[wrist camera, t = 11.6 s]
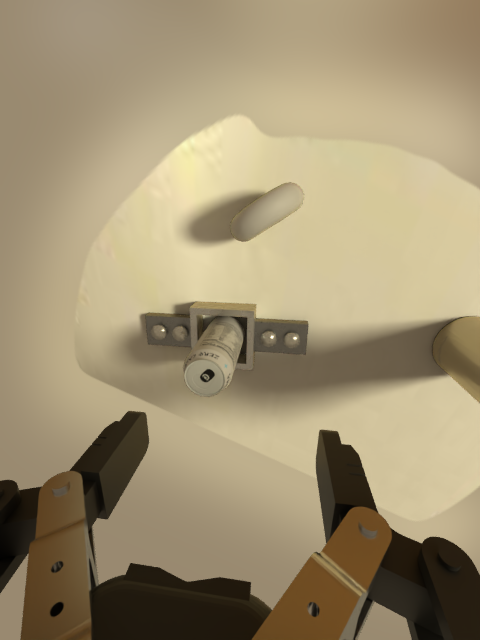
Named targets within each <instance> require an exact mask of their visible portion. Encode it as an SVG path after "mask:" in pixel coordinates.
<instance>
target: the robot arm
mask: <svg viewBox="0 0 480 640" xmlns="http://www.w3.org/2000/svg"><path fill="white" fill-rule="evenodd" d="M433 356H434V359H435V361H436V362H437V364H438V365H439V366H440V367H441V368H442V369H443V370H444V371H445V372H447V373H448V374H449V375H450V376H451V377H452V378H453V379H454V380H455V381H456V382H457V383H458V384H459V385H460V386H461V387H463V388H464V389H465V390H466V391H467V392H468V393H469V394H470V395H471V396H472V397H473V398H474V399H476V400H477V401H478V402H479V403H480V317H473V316H471V317H464V318H460V319H457V320H455V321H453V322H451V323H449V324H448V325H446V326H445V327H444V328H443V329H442V330H441V331H440V332H439V333H438V335H437V336H436V338H435V341H434V343H433ZM148 444H149V436H148V426H147V418H146V414H145V413H144V412H135V411H128V412H127V413H126V414H125V415H124V417H123V418H122V419H121V420H120V421H115V422H114V423H112V424H110V425H109V426H108V427H106V428H105V429H104V430H103V431H102V432H101V434H100V435H99V436H98V438H97V439H96V440H95V441H94V442H93V443H92V445H91V446H90V447H89V448H88V449H87V450H86V452H85V453H84V454H83V455H82V456H81V458H80V459H79V460H78V461H77V462H76V464H75V465H74V466H73V467H72V468H71V469H70V471H67V472H62V473H59V474H57V475H55V476H54V477H52V478H50V479H49V480H48V481H47V482H46V483H45V484H44V485H43V486H42V487H36V488H30V489H24V490H19V488H18V485H17V483H16V482H15V481H12V480H3V481H0V593H1V592H2V590H3V589H4V587H5V586H6V584H7V583H8V582H9V580H10V579H11V577H12V576H13V574H14V573H15V572H16V570H17V569H18V567H19V566H20V564H21V563H22V561H23V560H24V559H25V557H26V556H27V554H28V553H29V556H28V567H27V576H26V586H25V597H24V608H23V618H22V630H21V639H20V640H357V639H358V637H359V635H360V633H361V630H362V628H363V626H364V624H365V622H366V620H367V617H368V615H369V613H370V611H371V608H372V606H373V604H374V602H376V603H378V604H380V605H382V606H384V607H386V608H388V609H390V610H392V611H394V612H395V613H397V614H399V615H401V616H403V617H405V618H406V619H407V622H408V627H409V630H410V634H411V637H412V640H480V575H479V573H478V571H477V569H476V567H475V565H474V563H473V562H472V560H471V559H470V558H469V556H468V555H467V554H466V553H465V552H464V551H463V550H461V548H459V547H458V546H457V545H455V544H454V543H452V542H450V541H448V540H446V539H444V538H440V537H429V538H427V539H425V540H424V541H423V543H419V542H417V541H414V540H412V539H410V538H407V537H405V536H403V535H401V534H399V533H397V532H395V531H394V530H393V529H391V528H390V526H389V524H388V523H387V521H386V520H385V519H384V518H383V517H382V516H381V515H380V514H379V513H378V511H377V509H376V505H375V502H374V499H373V496H372V493H371V490H370V487H369V484H368V481H367V478H366V477H365V472H364V469H363V468H362V463H361V460H360V457H359V455H358V453H357V452H356V451H355V450H354V449H353V447H352V446H351V445H345V444H341V441H340V437H339V434H338V432H337V431H329V430H320V431H319V438H318V446H317V454H316V474H317V481H318V488H319V495H320V502H321V509H322V516H323V523H324V530H325V537H326V545H325V547H324V548H323V550H322V551H321V552H320V553H317V552H314V553H313V554H312V555H311V556H310V558H309V559H308V560H307V562H306V563H305V565H304V566H303V567H302V569H301V570H300V572H299V573H298V574H297V576H296V577H295V579H294V580H293V582H292V583H291V584H290V586H289V587H288V589H287V590H286V592H285V593H284V594H283V596H282V597H281V599H280V600H279V601H278V603H277V604H276V606H275V607H274V609H273V610H271V608H270V607H268V606H267V605H266V604H265V603H264V602H263V601H261V600H260V599H259V598H257V597H255V596H253V595H251V594H250V590H251V582H246V581H240V580H234V579H227V578H221V577H219V578H212V579H205V580H198V581H191V582H186V581H184V580H182V579H180V578H178V577H176V576H174V575H172V574H170V573H168V572H166V571H164V570H163V569H161V568H158V567H152V566H146V565H139V564H133V563H131V564H130V566H129V568H128V570H127V572H126V575H121V576H118V577H115V578H112V579H110V580H107V581H105V582H104V583H101V584H100V585H99V580H98V574H97V564H96V554H95V544H94V534H93V527H92V525H93V524H94V522H95V521H96V519H97V518H101V519H108V518H109V516H110V514H111V513H112V511H113V509H114V507H115V506H116V504H117V502H118V501H119V499H120V497H121V495H122V493H123V492H124V490H125V488H126V487H127V485H128V483H129V481H130V480H131V478H132V476H133V474H134V473H135V471H136V469H137V467H138V466H139V464H140V462H141V461H142V459H143V457H144V455H145V453H146V451H147V448H148Z"/></svg>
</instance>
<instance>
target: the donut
mask: <svg viewBox="0 0 480 640" xmlns="http://www.w3.org/2000/svg"><path fill="white" fill-rule="evenodd" d="M303 200H304V193H303V190H302V189H301V187H300V186H299V185H297V184H295V183H291V182H289V183H284V184H282V185H280V186H278V187H276V188H274V189H272V190H271V191H269V192H267V193H266V194H264V195H263V196H261V197H259V198H258V199H256V200H255V201H254V202H252V203H251V204H249V205H248V206H247V207H245V208H244V209H243V210H242V211H240V212H239V213H238V214H237V215H236V216H235V217H234V218H233V220H232V221H231V225H230V231H231V233H232V235H233V237H234V238H235V239H237V240H238V241H242V242H245V241H249V240H251V239H252V238H254V237H256V236H257V235H259V234H261V233H262V232H264V231H265V230H267V229H269V228H270V227H272V226H273V225H275V224H276V223H278V222H280V221H281V220H283V219H284V218H286V217H287V216H289V215H290V214H292V213H293V212H295V211H296V210H298V209H299V208H300V207H301V205H302V204H303Z"/></svg>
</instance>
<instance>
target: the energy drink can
mask: <svg viewBox="0 0 480 640" xmlns="http://www.w3.org/2000/svg"><path fill="white" fill-rule="evenodd" d="M243 340H244V329H243V327H242V325H241V324H240V323H239V321H237V320H236V319H234V318H232V317H229V316H220V317H217V318H215V319H214V320H212V321H211V323H210V324H209V326H208V327H207V328H206V330H205V331H204V333H203V334H202V336H201V337H200V339H199V340H198V342H197V343H196V345H195V346H194V348H193V349H192V351H191V352H190V354H189V355H188V357H187V358H186V360H185V363H184V379H185V383H186V385H187V386H188V388H189V389H190V390H191V391H192V392H194V393H195V394H197V395H200V396H204V397H210V396H214V395H216V394H218V393H219V392H220V391H222V390H224V389H225V388H226V387H227V386H228V385H229V384H230V382H231V380H232V376H233V373H234V370H235V366H236V363H237V360H238V357H239V353H240V350H241V347H242V343H243Z"/></svg>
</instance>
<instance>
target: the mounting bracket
mask: <svg viewBox="0 0 480 640" xmlns="http://www.w3.org/2000/svg"><path fill="white" fill-rule="evenodd" d="M203 315H215V316H234V317H247V354H239V357H238V360H237V363H236V366H235V369H242V370H253V366H254V360H255V351H258V352H273V353H288V354H303V355H306V345H307V334H308V321H296V320H277V319H258V318H256V304H239V303H217V302H195V303H194V304H193V305H192V306H191V307H190V315H183V314H164V313H148V314H147V315H145V318H146V328H147V338H148V344H152V345H167V346H182V347H191V348H192V349H193V348H194V346H195V345H196V343H197V342H198V340H199V339H200V337H201V336H202V334H203Z"/></svg>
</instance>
